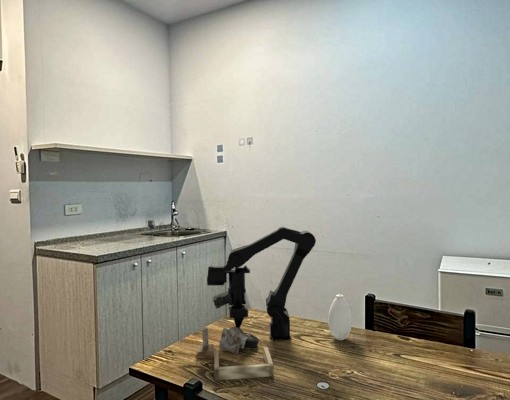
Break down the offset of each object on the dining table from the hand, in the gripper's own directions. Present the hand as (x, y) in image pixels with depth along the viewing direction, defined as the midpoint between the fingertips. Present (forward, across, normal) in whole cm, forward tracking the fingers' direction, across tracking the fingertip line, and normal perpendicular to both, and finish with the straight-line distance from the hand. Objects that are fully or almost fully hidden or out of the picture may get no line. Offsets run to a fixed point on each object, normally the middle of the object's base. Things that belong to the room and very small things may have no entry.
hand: (237, 329), depth 127 cm
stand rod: (+3, +12, -11) cm, 16 cm away
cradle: (+3, +22, 0) cm, 22 cm away
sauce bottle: (+3, +6, +35) cm, 36 cm away
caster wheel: (+3, +8, 0) cm, 9 cm away
